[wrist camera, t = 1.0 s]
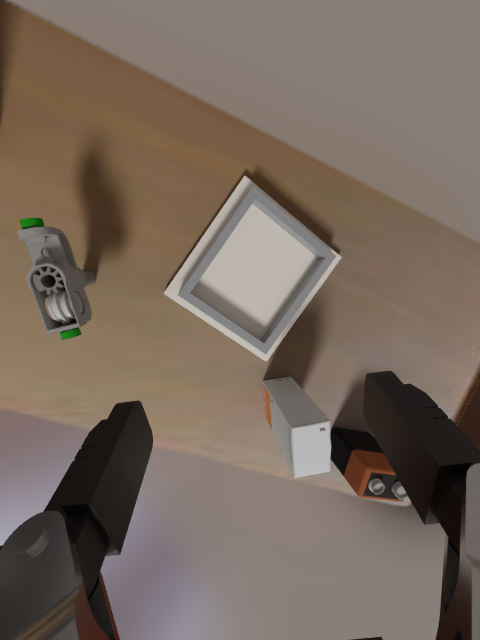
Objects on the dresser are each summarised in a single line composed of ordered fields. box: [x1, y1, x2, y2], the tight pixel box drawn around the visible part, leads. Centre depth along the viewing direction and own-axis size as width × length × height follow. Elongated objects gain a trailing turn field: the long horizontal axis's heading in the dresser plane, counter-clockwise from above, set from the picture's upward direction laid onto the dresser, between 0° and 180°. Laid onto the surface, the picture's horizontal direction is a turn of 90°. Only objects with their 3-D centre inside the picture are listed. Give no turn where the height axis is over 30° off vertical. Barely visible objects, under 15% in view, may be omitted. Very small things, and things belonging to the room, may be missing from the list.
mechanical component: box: [17, 218, 96, 340], centre depth 28 cm, size 3×10×10 cm, turn 12°
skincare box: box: [263, 377, 331, 478], centre depth 34 cm, size 6×4×12 cm
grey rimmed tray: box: [164, 176, 342, 362], centre depth 35 cm, size 16×17×3 cm
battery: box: [330, 428, 408, 501], centre depth 38 cm, size 4×7×10 cm, turn 75°
